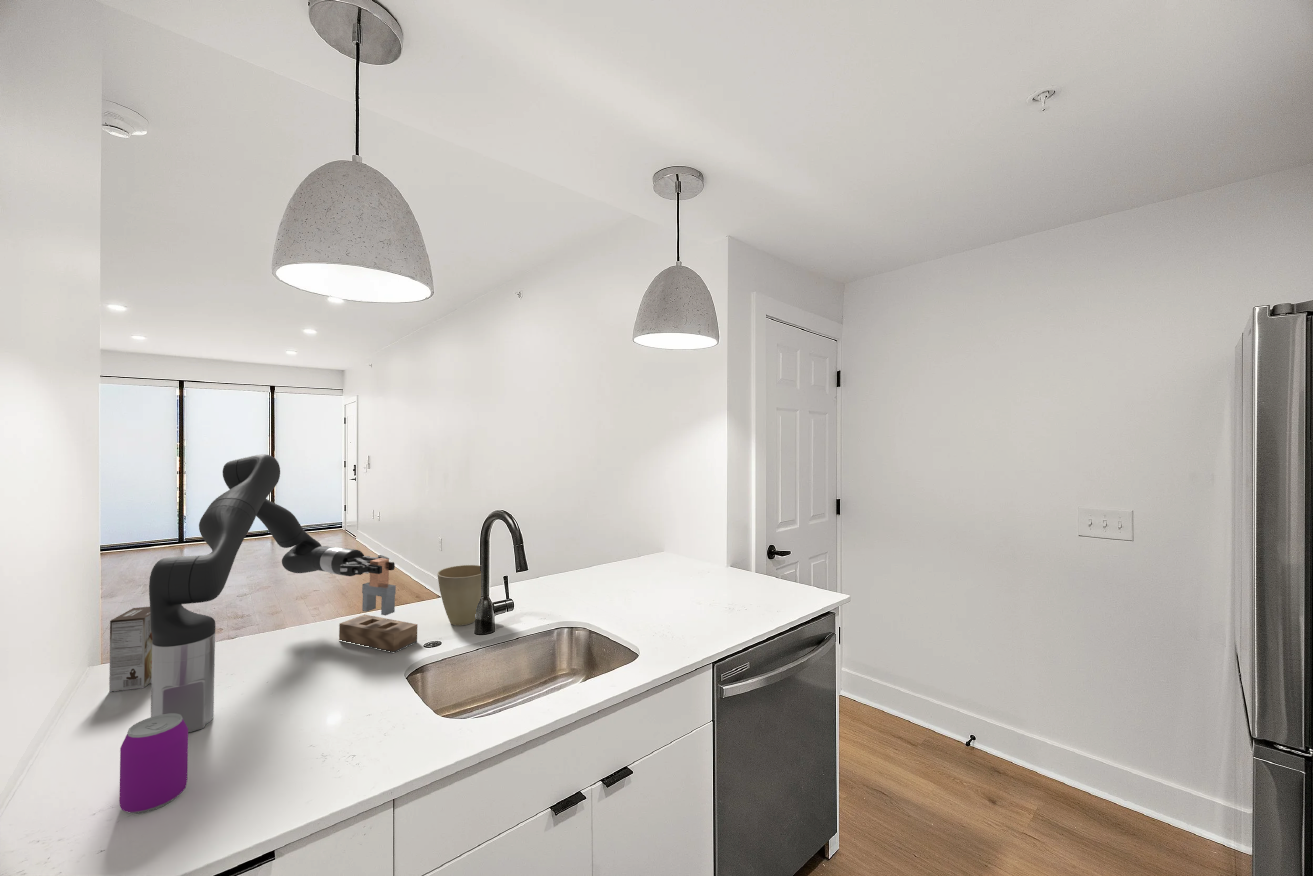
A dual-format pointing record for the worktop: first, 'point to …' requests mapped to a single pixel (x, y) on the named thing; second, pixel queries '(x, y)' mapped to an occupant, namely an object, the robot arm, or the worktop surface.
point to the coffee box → (130, 650)
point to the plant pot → (460, 592)
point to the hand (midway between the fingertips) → (387, 568)
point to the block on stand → (379, 589)
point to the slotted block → (378, 632)
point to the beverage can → (153, 763)
